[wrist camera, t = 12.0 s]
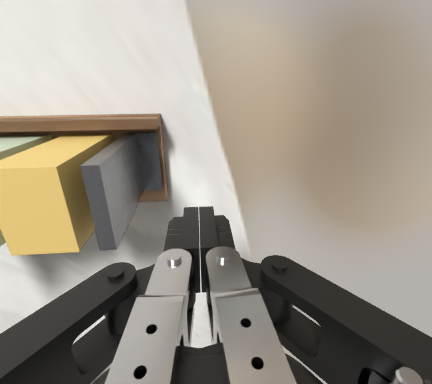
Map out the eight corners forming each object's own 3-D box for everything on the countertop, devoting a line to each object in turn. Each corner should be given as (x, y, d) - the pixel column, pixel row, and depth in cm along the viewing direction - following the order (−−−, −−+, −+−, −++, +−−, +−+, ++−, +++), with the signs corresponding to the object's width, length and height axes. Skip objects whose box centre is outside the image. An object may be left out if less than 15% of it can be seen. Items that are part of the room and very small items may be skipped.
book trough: (168, 195, 26) (146, 286, 15) (-22, 203, 25) (-214, 309, 13) (160, 113, 23) (124, 145, 11) (-59, 117, 22) (-361, 157, 10)
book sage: (66, 191, 24) (0, 246, 16) (28, 192, 24) (-59, 249, 16) (51, 134, 22) (-35, 164, 14) (9, 135, 22) (-104, 166, 13)
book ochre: (122, 189, 25) (79, 251, 15) (80, 190, 24) (11, 255, 15) (112, 133, 22) (56, 167, 13) (66, 134, 22) (-24, 169, 13)
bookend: (163, 187, 25) (144, 247, 16) (135, 188, 25) (100, 250, 15) (157, 131, 23) (132, 164, 13) (126, 132, 22) (80, 165, 13)
